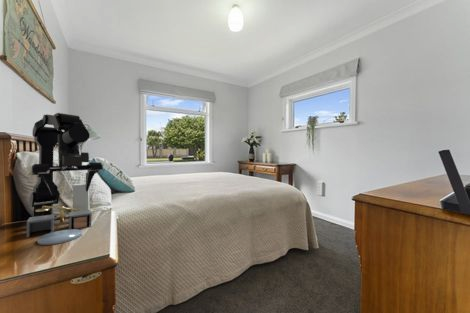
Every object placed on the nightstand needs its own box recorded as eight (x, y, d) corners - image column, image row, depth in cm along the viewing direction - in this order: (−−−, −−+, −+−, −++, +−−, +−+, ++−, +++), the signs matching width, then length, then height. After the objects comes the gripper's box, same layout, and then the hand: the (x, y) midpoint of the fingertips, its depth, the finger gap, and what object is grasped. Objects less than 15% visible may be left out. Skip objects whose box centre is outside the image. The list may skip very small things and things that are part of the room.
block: (73, 226, 79) (73, 215, 79) (86, 224, 82) (86, 214, 82) (73, 228, 76) (73, 218, 76) (86, 226, 79) (87, 216, 79)
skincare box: (88, 217, 91) (89, 184, 92) (71, 219, 88) (72, 184, 88) (89, 213, 98) (90, 182, 99) (73, 214, 95) (74, 183, 95)
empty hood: (29, 232, 72) (29, 217, 72) (54, 228, 77) (54, 214, 77) (26, 237, 67) (26, 221, 67) (53, 233, 72) (53, 218, 72)
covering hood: (69, 225, 79) (69, 212, 79) (89, 222, 84) (89, 209, 84) (69, 230, 74) (69, 216, 74) (91, 226, 79) (91, 213, 79)
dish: (53, 233, 71) (53, 230, 71) (88, 231, 73) (88, 228, 73) (27, 246, 61) (27, 242, 61) (69, 243, 63) (69, 240, 63)
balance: (34, 228, 76) (34, 207, 76) (35, 225, 80) (36, 205, 80) (86, 220, 86) (86, 202, 86) (85, 218, 90) (85, 200, 90)
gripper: (32, 142, 60) (33, 196, 58) (105, 144, 73) (108, 188, 71) (31, 150, 67) (32, 197, 65) (97, 150, 81) (99, 190, 79)
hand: (70, 193), depth 70 cm, fingers open, 9 cm apart
